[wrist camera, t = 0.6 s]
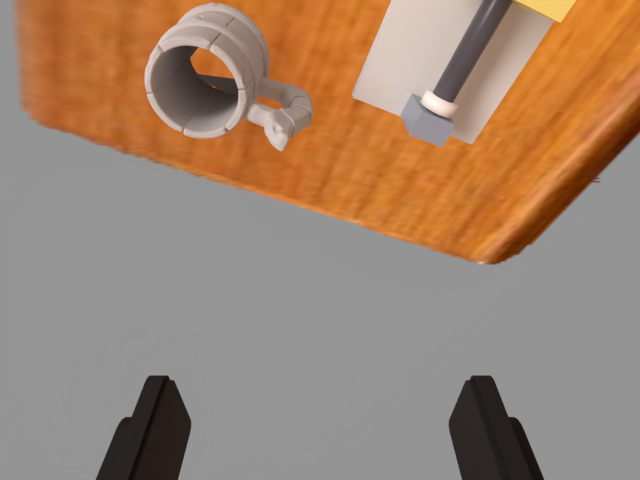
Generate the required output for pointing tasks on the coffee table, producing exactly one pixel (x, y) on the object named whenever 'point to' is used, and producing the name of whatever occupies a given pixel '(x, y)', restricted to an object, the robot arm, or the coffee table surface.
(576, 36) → the coffee table surface
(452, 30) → the comb board
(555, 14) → the yellow sliding block
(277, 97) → the mug
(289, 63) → the coffee table surface
